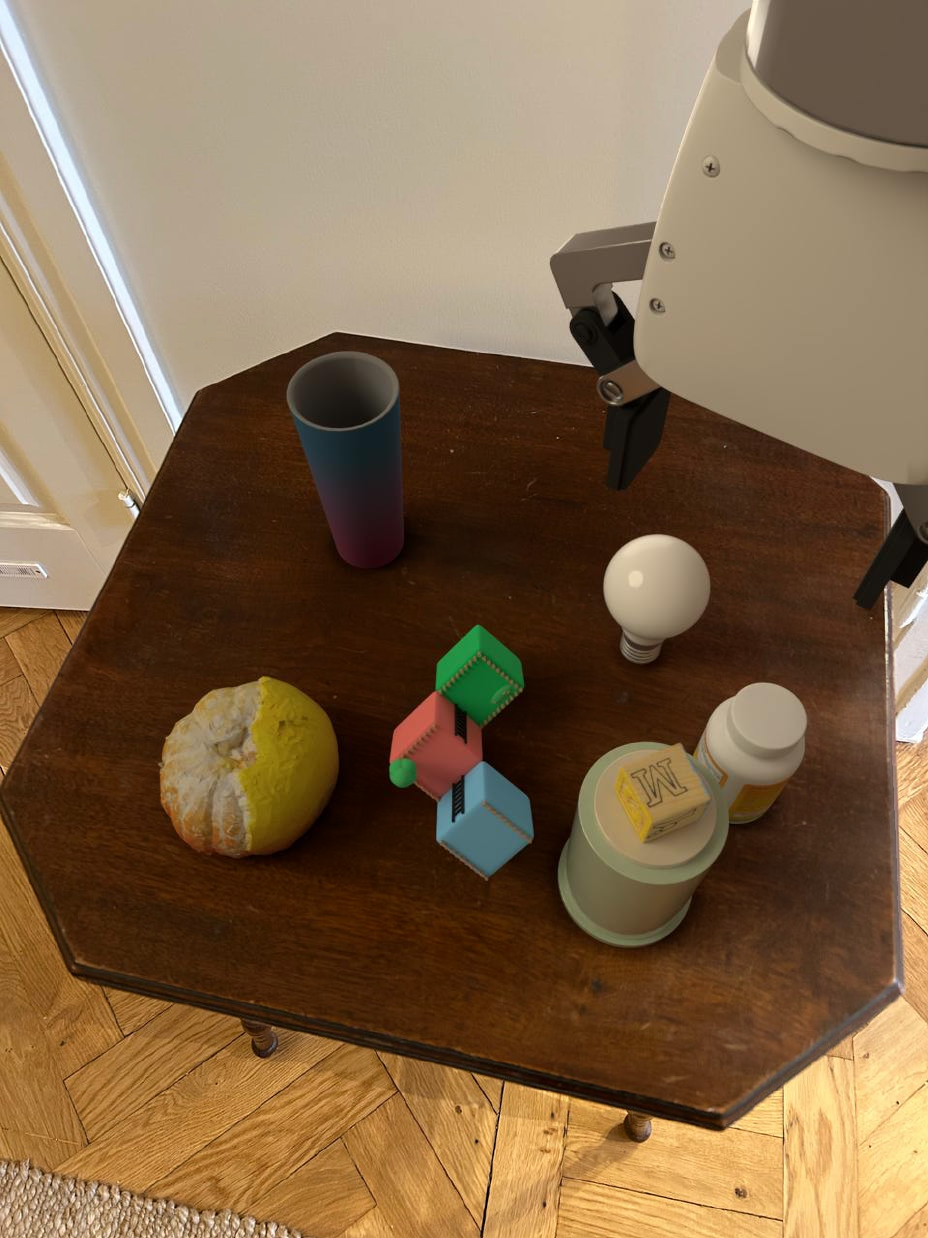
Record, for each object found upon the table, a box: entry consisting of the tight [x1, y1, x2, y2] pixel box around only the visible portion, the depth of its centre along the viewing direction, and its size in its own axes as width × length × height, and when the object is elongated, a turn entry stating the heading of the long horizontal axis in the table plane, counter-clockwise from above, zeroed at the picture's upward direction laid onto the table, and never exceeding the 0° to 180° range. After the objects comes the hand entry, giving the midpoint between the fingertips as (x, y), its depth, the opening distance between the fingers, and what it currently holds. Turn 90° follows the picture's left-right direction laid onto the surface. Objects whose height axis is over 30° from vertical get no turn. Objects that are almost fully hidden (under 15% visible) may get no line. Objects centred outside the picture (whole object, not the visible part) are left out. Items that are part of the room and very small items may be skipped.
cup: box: [286, 351, 405, 569], centre depth 61 cm, size 7×7×15 cm
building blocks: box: [388, 624, 535, 882], centre depth 54 cm, size 8×8×12 cm
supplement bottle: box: [692, 682, 808, 825], centre depth 52 cm, size 5×5×10 cm
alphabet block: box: [614, 742, 712, 843], centre depth 42 cm, size 3×3×3 cm
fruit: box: [157, 675, 340, 859], centre depth 55 cm, size 11×10×8 cm
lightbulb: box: [602, 533, 712, 665], centre depth 57 cm, size 6×6×11 cm
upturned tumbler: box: [557, 741, 730, 949], centre depth 48 cm, size 8×8×12 cm
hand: (748, 519), depth 33 cm, fingers open, 9 cm apart
